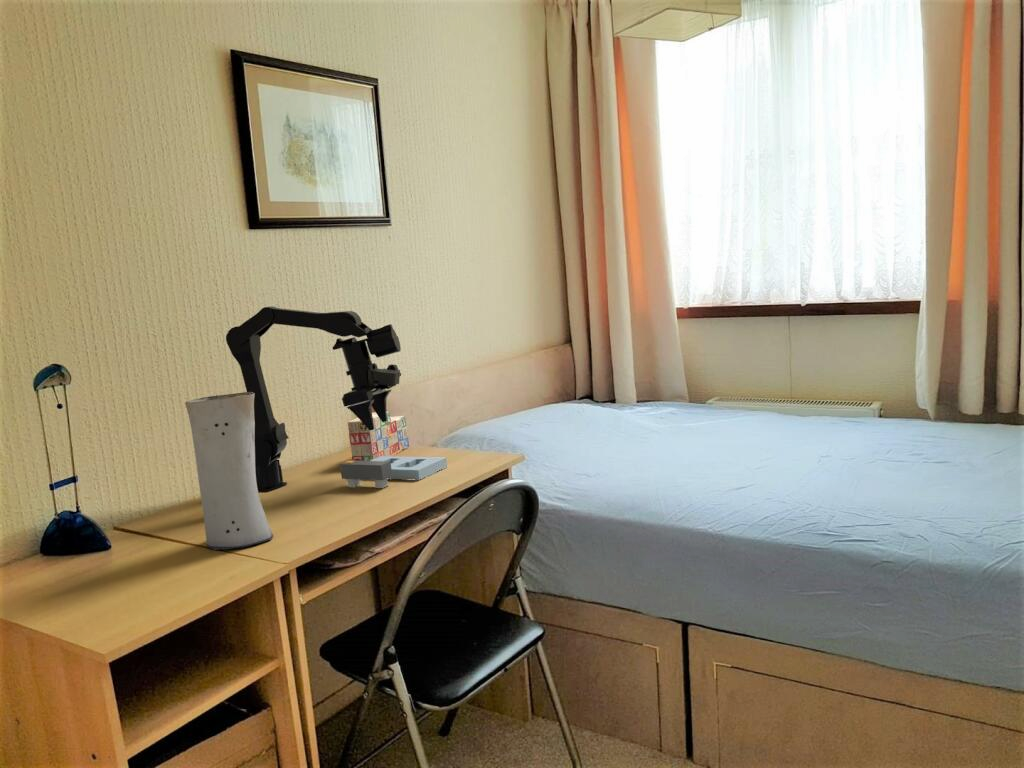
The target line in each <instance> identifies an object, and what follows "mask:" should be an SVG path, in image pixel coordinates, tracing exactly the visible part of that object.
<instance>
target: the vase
mask: <svg viewBox="0 0 1024 768" xmlns="http://www.w3.org/2000/svg"><path fill="white" fill-rule="evenodd" d="M254 396H255V393H253V392H247V391H244V392H238V393H237V392H236V393H227V394H219V395H210V396H205V397H200V398H195V399H190V400H188V401H185V402H184V404H185V408H186V411H187V415H188V419H189V424H190V429H191V436H192V441H193V448H194V449H193V450H194V455H195V464H196V470H197V471H196V472H197V478H198V484H199V486H198V487H199V491H200V492H199V493H200V499H201V508H202V514H203V522H204V523H203V524H204V531H205V541H206V546H207V548H210V549H211V550H214V551H216V552H217V551H219V550H231V549H232V550H233V549H238V548H239V549H240V548H245V547H250V546H254V545H256V544H261V543H264V542H267V541H271V540H272V539H273V537H274V535H273V531H272V529H271V526H270V523H269V521H268V519H267V516H266V513H265V510H264V508H263V504H262V502H261V499H260V495H259V494H260V493H259V491H258V489H257V483H256V472H255V441H254V438H255V421H254Z"/></svg>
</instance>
